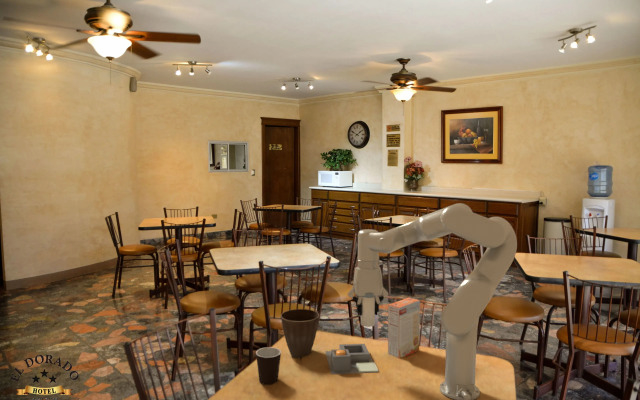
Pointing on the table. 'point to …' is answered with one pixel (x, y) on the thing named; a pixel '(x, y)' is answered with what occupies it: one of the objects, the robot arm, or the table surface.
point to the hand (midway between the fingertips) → (367, 313)
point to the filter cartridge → (368, 310)
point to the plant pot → (300, 330)
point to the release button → (340, 352)
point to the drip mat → (367, 367)
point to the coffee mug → (268, 365)
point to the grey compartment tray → (348, 359)
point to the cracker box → (403, 327)
